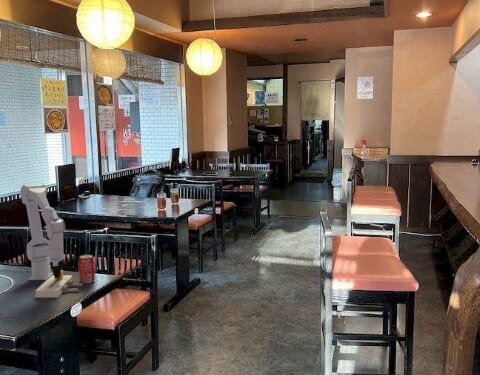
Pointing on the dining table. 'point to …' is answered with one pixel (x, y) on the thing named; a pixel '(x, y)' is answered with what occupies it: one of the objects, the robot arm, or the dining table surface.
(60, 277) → the knob
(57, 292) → the slider switch box
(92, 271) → the soda can
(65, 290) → the white peg legs
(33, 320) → the dining table surface
